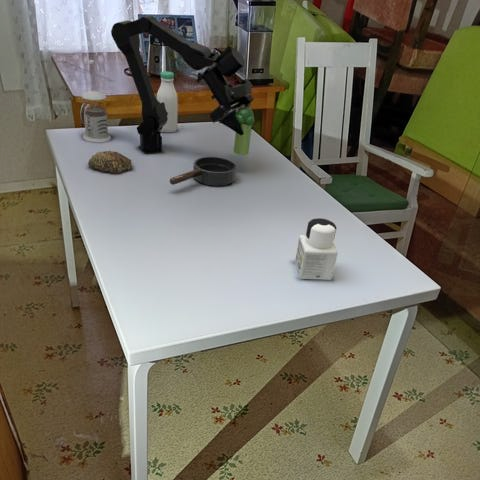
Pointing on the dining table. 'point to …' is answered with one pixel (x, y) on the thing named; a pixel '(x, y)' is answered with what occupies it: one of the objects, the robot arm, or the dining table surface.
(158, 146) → the robot arm
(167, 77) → the milk bottle
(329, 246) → the container
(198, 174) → the pan handle
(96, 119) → the french press
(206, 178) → the pan
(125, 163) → the bread roll
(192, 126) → the dining table surface
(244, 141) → the broccoli
